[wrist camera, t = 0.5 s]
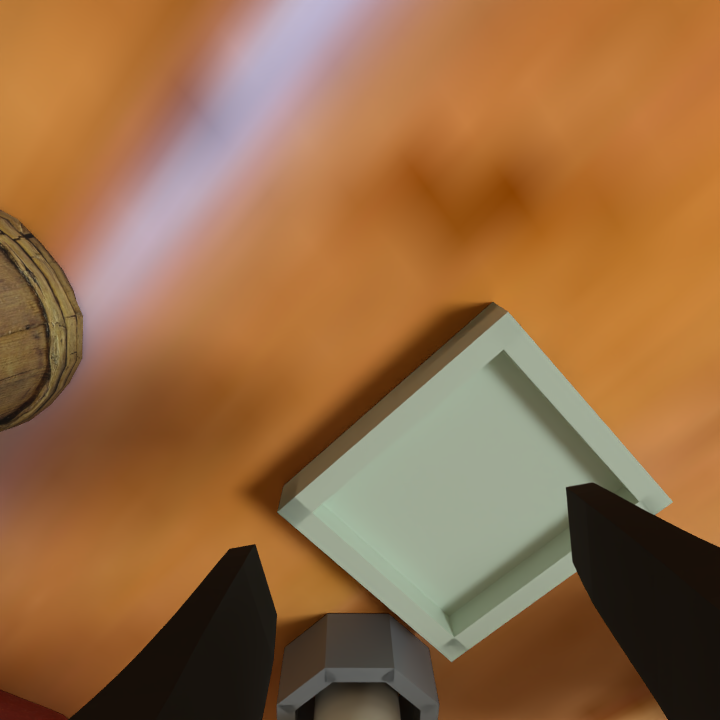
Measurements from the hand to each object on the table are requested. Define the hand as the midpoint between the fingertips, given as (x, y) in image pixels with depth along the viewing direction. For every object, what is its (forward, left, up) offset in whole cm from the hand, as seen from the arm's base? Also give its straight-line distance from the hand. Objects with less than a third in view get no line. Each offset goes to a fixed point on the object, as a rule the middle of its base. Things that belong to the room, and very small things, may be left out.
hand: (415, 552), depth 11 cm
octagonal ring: (-10, +11, -10) cm, 18 cm away
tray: (-6, 0, -10) cm, 12 cm away
